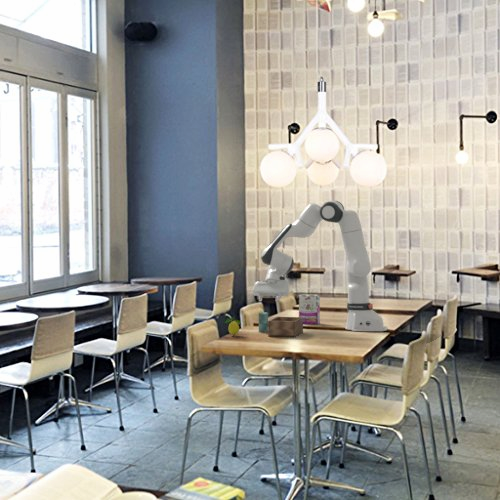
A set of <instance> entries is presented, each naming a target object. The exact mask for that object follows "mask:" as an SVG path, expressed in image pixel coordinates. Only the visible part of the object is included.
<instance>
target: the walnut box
mask: <svg viewBox="0 0 500 500" xmlns="http://www.w3.org/2000/svg"><path fill="white" fill-rule="evenodd" d="M303 332H304V324H303V317H299V316H298V317H297V316H296V317H295V316H275V317H273V318H271V319H268V332H267V336H268V337H273V338H294V337H295V338H297V337H298V336H299V334H300V335H301V333H302V334H303ZM296 336H297V337H296Z"/></svg>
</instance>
